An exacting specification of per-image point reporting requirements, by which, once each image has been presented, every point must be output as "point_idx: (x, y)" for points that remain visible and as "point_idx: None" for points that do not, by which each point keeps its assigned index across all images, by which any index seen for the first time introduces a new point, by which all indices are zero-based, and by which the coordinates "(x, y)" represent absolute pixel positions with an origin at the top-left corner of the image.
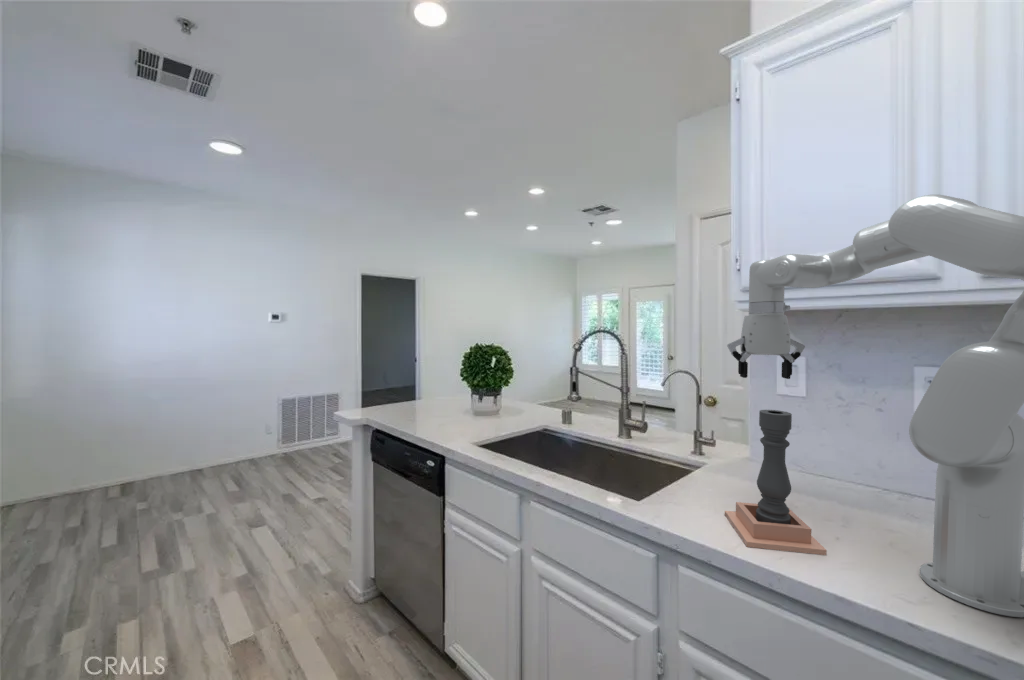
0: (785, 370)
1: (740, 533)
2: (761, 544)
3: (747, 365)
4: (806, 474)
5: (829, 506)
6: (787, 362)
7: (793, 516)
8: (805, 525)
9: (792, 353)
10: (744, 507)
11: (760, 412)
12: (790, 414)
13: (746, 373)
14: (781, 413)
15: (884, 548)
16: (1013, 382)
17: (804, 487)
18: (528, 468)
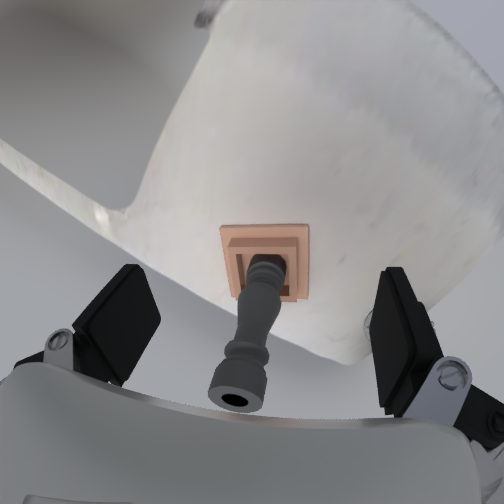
0: (379, 351)
1: (228, 280)
2: None
3: (132, 369)
4: (415, 19)
5: (391, 160)
6: (396, 404)
7: (290, 276)
8: (294, 295)
9: (477, 438)
10: (234, 262)
11: (208, 396)
12: (257, 409)
13: (148, 337)
14: (243, 405)
15: (379, 271)
16: None
17: (389, 80)
18: (20, 159)
